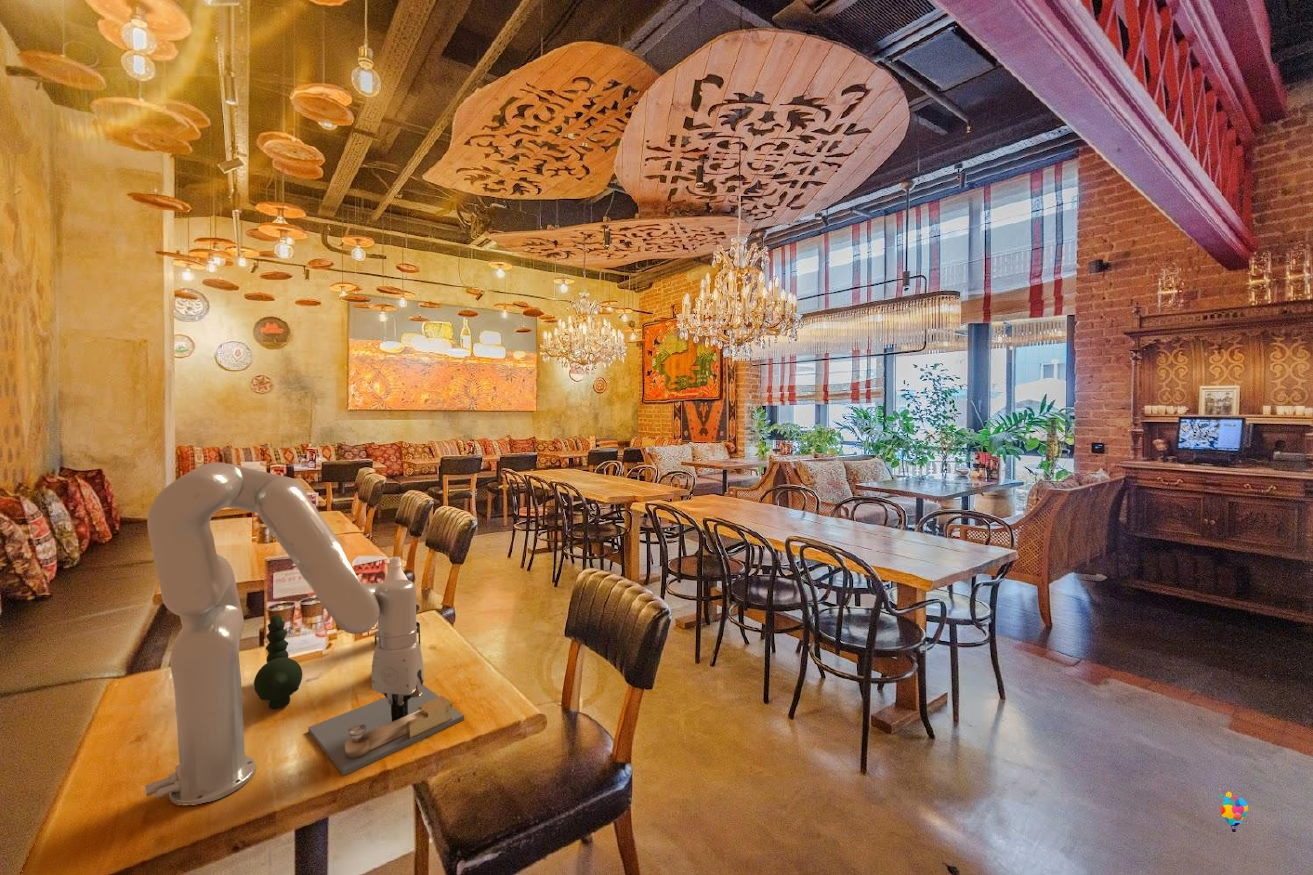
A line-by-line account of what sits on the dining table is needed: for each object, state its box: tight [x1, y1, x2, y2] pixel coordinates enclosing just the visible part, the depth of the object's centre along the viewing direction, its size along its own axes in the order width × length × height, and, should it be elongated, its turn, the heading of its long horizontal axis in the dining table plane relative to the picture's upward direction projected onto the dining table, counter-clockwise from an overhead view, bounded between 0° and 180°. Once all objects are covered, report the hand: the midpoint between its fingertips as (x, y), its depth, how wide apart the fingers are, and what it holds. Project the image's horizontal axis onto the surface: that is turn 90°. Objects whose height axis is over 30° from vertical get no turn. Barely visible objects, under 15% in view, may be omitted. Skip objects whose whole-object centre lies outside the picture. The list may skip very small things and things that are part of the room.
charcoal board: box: [307, 684, 465, 777], centre depth 121 cm, size 25×21×1 cm
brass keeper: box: [407, 695, 453, 739], centre depth 120 cm, size 10×4×4 cm, turn 138°
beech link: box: [345, 710, 425, 758], centre depth 115 cm, size 18×4×2 cm, turn 138°
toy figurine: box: [253, 614, 303, 710], centre depth 133 cm, size 9×19×25 cm
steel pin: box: [348, 724, 366, 743], centre depth 110 cm, size 3×3×2 cm
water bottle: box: [382, 556, 409, 583], centre depth 164 cm, size 7×7×25 cm
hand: (399, 719), depth 120 cm, fingers closed
